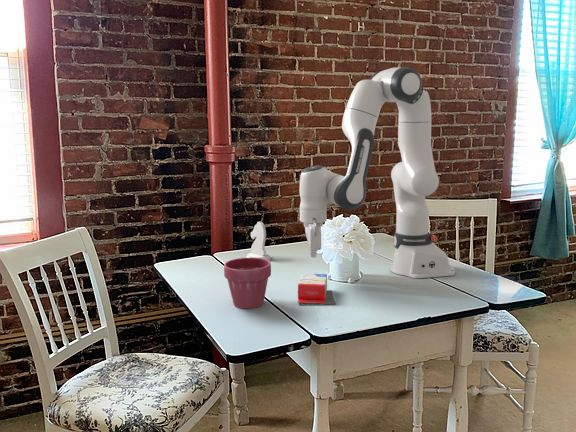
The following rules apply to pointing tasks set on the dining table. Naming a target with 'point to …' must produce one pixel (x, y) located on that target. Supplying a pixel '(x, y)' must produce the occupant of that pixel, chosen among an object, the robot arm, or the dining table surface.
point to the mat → (328, 300)
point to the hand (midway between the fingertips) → (313, 256)
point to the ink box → (312, 288)
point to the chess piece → (259, 242)
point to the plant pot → (247, 280)
